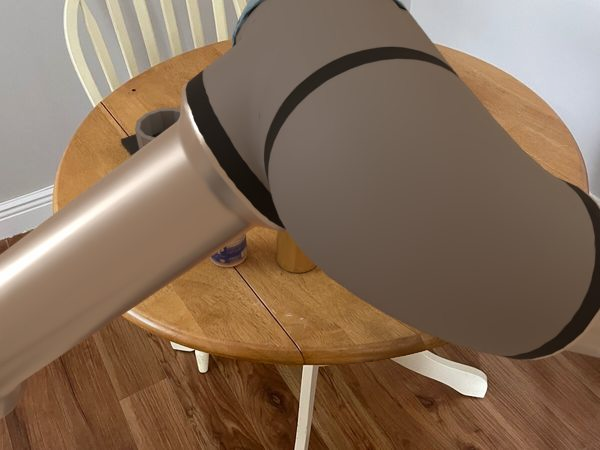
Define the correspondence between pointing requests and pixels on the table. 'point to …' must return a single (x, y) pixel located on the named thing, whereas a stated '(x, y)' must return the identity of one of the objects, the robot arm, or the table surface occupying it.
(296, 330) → the table surface
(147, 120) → the socket pad
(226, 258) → the pill bottle
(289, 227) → the robot arm
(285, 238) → the vase
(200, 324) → the table surface
